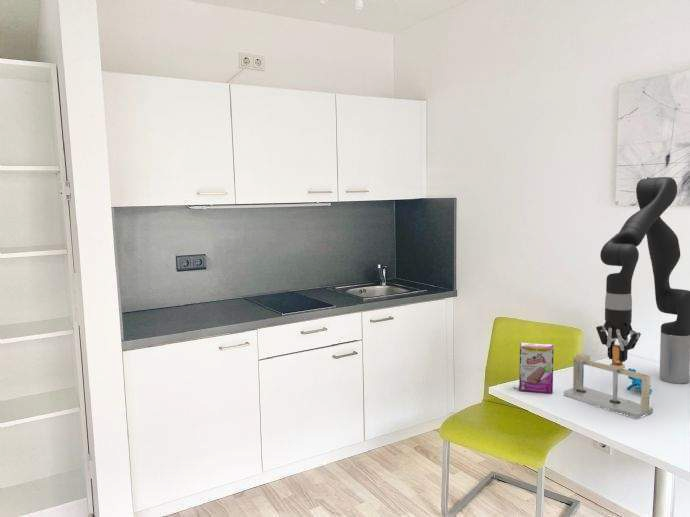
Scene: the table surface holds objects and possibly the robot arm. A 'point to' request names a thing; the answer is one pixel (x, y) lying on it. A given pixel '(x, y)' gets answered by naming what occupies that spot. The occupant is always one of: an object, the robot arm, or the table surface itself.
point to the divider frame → (606, 399)
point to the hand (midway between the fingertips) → (617, 359)
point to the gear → (636, 382)
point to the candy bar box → (536, 368)
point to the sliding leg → (616, 368)
